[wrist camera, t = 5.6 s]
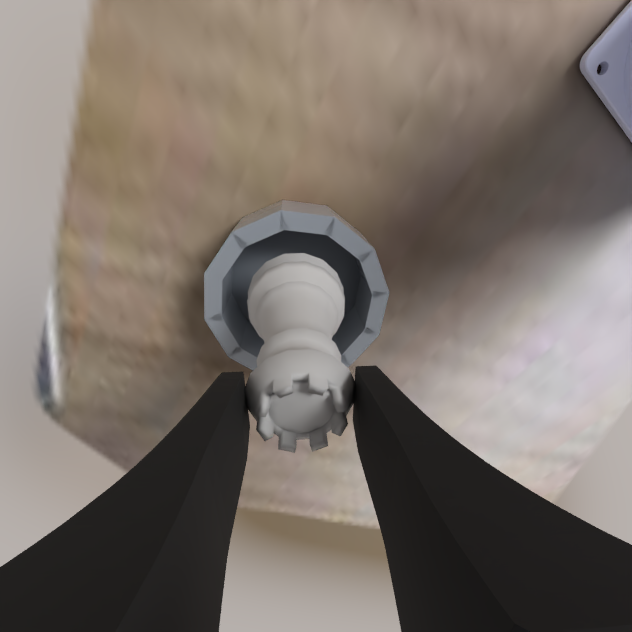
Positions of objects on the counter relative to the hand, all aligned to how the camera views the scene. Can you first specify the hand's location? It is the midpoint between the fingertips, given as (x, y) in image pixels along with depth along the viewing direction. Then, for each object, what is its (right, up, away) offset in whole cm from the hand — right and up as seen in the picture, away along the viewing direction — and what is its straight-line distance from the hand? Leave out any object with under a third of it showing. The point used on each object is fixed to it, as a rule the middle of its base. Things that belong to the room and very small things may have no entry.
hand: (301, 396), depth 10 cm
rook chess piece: (0, +4, +6) cm, 7 cm away
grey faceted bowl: (-1, +4, +9) cm, 10 cm away
